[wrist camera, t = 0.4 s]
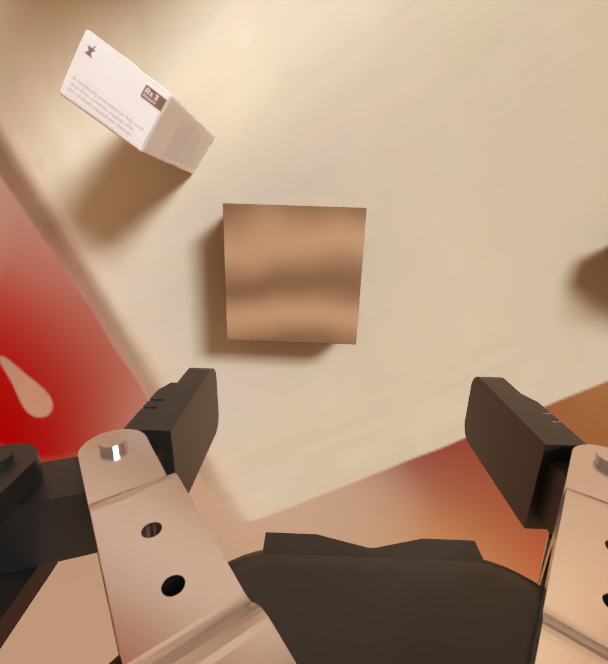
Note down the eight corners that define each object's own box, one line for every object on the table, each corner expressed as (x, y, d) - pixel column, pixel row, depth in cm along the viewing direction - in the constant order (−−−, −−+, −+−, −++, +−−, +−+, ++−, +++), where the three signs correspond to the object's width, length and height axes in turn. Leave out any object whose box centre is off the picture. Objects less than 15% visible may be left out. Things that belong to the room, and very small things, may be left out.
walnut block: (235, 205, 36) (222, 203, 31) (359, 209, 36) (366, 208, 31) (237, 324, 39) (227, 339, 35) (351, 328, 39) (355, 344, 34)
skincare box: (138, 135, 34) (49, 93, 23) (162, 90, 33) (80, 22, 22) (195, 177, 35) (136, 157, 24) (220, 134, 34) (171, 92, 23)
